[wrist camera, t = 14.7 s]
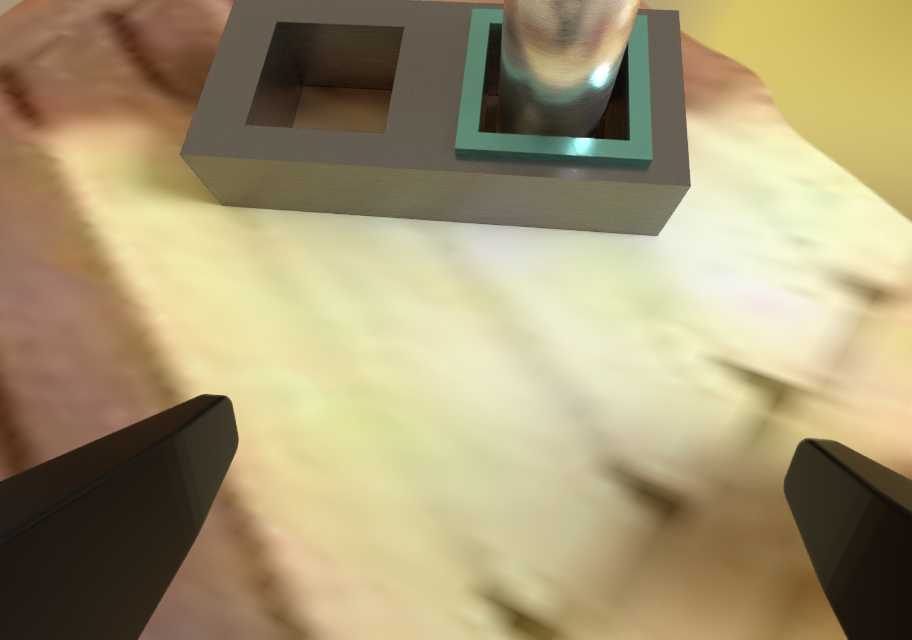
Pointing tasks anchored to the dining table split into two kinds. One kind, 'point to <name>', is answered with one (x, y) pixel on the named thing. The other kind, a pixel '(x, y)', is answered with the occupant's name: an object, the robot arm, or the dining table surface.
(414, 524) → the dining table surface
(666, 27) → the jig plate
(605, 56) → the steel sleeve
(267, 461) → the dining table surface
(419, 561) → the dining table surface
